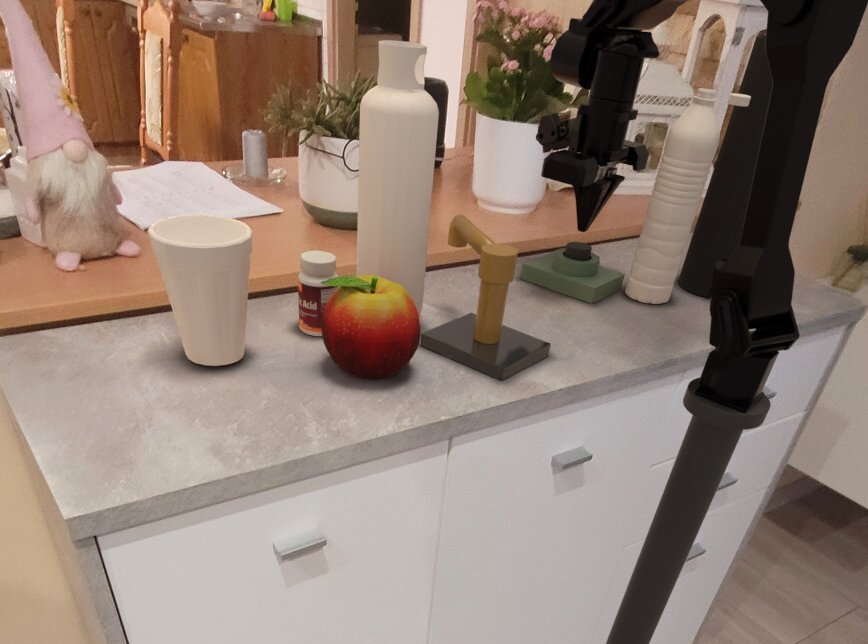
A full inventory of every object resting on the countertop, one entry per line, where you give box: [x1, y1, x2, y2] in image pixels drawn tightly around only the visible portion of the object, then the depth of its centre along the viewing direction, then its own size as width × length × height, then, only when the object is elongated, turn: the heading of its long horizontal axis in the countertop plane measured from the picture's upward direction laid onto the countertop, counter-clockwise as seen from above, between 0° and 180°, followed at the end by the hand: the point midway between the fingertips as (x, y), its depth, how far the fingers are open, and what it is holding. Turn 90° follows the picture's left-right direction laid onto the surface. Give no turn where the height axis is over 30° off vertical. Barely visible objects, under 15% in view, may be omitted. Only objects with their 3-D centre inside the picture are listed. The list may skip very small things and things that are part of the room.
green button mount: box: [520, 247, 626, 304], centre depth 104 cm, size 12×9×4 cm
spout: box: [447, 214, 519, 284], centre depth 84 cm, size 16×4×3 cm, turn 18°
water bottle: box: [624, 87, 751, 305], centre depth 96 cm, size 9×6×25 cm
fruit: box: [321, 274, 422, 380], centre depth 77 cm, size 11×11×10 cm
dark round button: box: [564, 241, 593, 261], centre depth 103 cm, size 4×4×2 cm
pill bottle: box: [297, 250, 340, 337], centre depth 84 cm, size 5×5×8 cm
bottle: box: [355, 39, 440, 331], centre depth 79 cm, size 8×8×28 cm
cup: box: [147, 213, 254, 367], centre depth 75 cm, size 10×10×13 cm
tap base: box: [419, 279, 552, 381], centre depth 83 cm, size 12×10×8 cm
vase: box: [677, 34, 830, 299], centre depth 99 cm, size 10×10×30 cm
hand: (582, 231), depth 101 cm, fingers closed
